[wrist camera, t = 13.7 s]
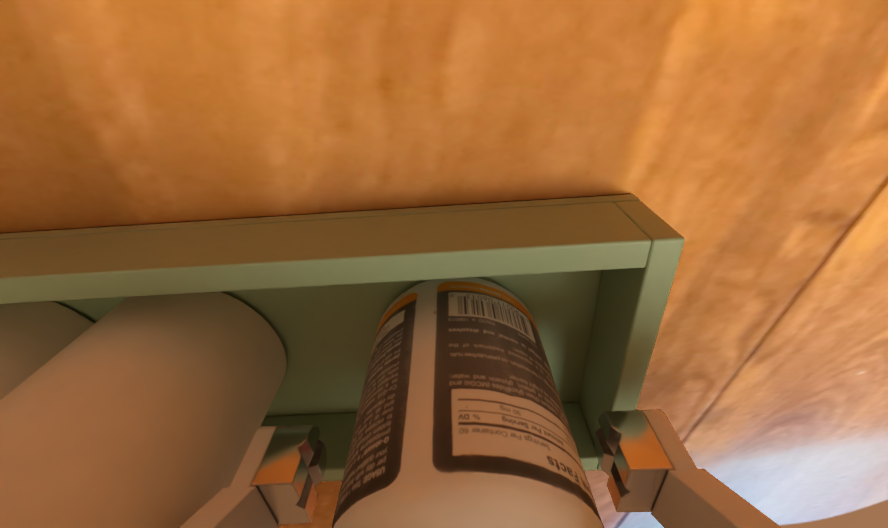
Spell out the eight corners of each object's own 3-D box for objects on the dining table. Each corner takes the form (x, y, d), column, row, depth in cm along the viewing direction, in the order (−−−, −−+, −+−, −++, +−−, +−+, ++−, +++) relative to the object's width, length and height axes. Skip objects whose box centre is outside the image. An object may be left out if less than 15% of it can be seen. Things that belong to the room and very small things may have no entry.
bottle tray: (633, 193, 12) (687, 238, 9) (591, 403, 17) (618, 470, 14) (-160, 242, 13) (-316, 297, 10) (24, 428, 17) (-48, 497, 15)
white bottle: (304, 401, 16) (124, 854, 7) (161, 405, 16) (-181, 846, 7) (258, 277, 12) (-167, 818, 4) (82, 285, 13) (-678, 805, 4)
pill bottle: (428, 405, 16) (411, 831, 7) (346, 309, 13) (174, 794, 5) (558, 356, 15) (722, 813, 6) (494, 238, 12) (621, 747, 3)
